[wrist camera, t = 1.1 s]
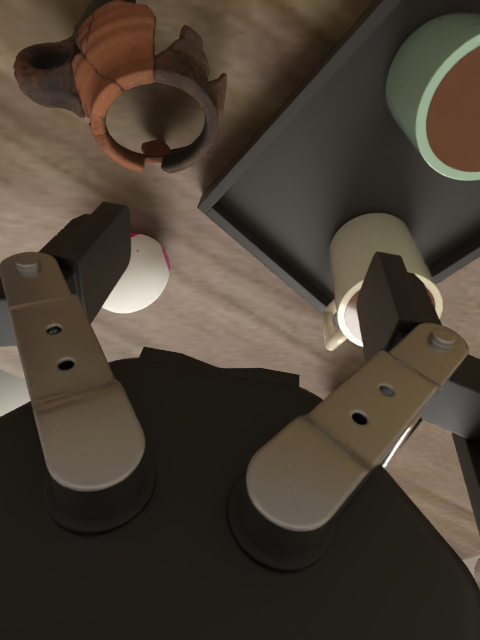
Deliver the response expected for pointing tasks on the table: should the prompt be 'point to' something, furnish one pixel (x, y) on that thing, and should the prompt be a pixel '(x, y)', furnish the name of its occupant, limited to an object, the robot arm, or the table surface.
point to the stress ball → (140, 277)
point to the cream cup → (353, 262)
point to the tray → (345, 164)
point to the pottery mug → (122, 77)
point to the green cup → (440, 93)
